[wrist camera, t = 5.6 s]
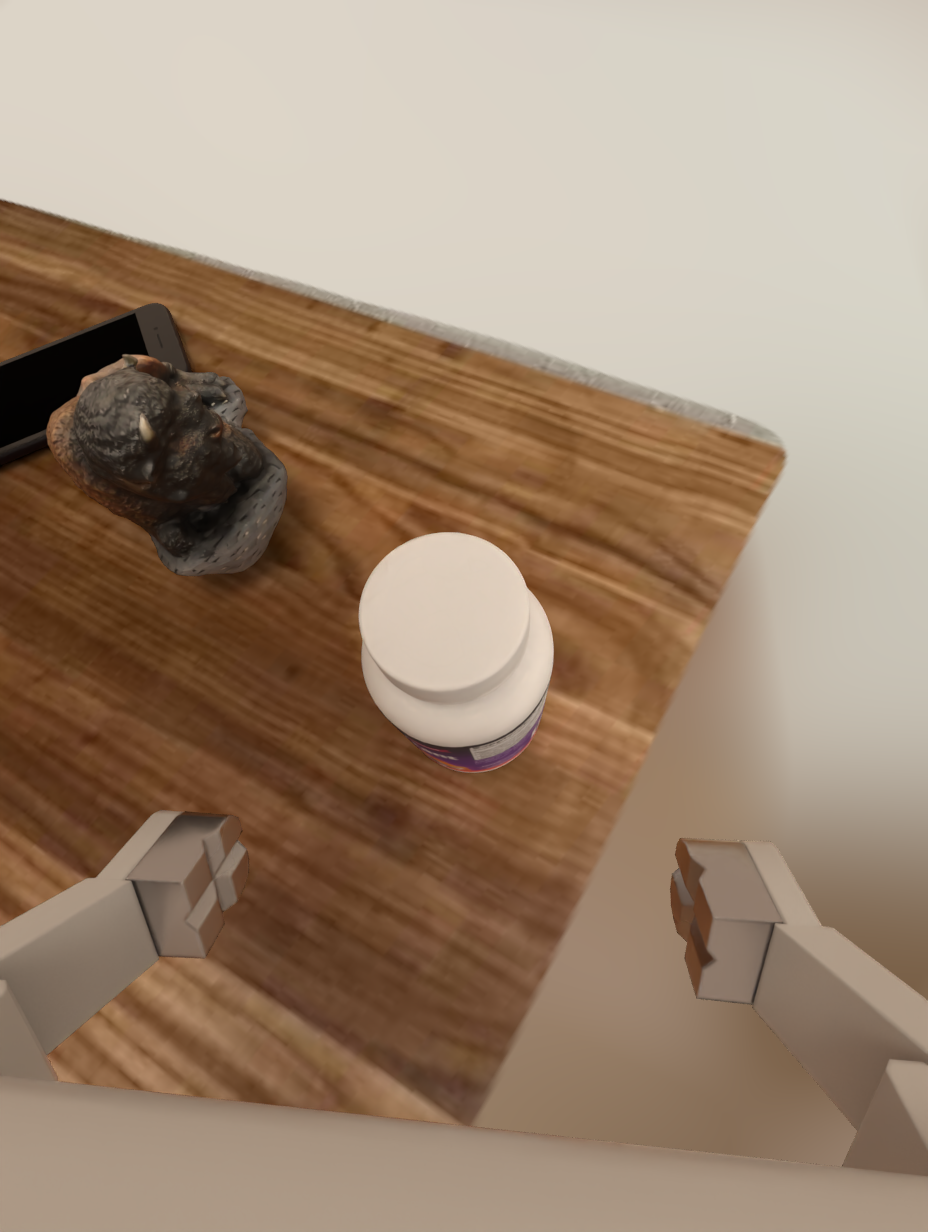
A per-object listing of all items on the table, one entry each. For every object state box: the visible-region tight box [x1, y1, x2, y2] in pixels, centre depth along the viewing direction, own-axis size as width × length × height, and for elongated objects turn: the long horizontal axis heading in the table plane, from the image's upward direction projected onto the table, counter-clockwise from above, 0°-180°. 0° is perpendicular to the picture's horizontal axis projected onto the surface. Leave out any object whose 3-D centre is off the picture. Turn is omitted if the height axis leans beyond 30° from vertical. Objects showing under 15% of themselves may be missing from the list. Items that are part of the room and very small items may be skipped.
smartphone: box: [0, 303, 192, 465], centre depth 29 cm, size 7×15×1 cm, turn 116°
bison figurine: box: [46, 354, 287, 576], centre depth 22 cm, size 12×7×10 cm, turn 36°
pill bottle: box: [359, 532, 554, 773], centre depth 17 cm, size 5×5×10 cm
